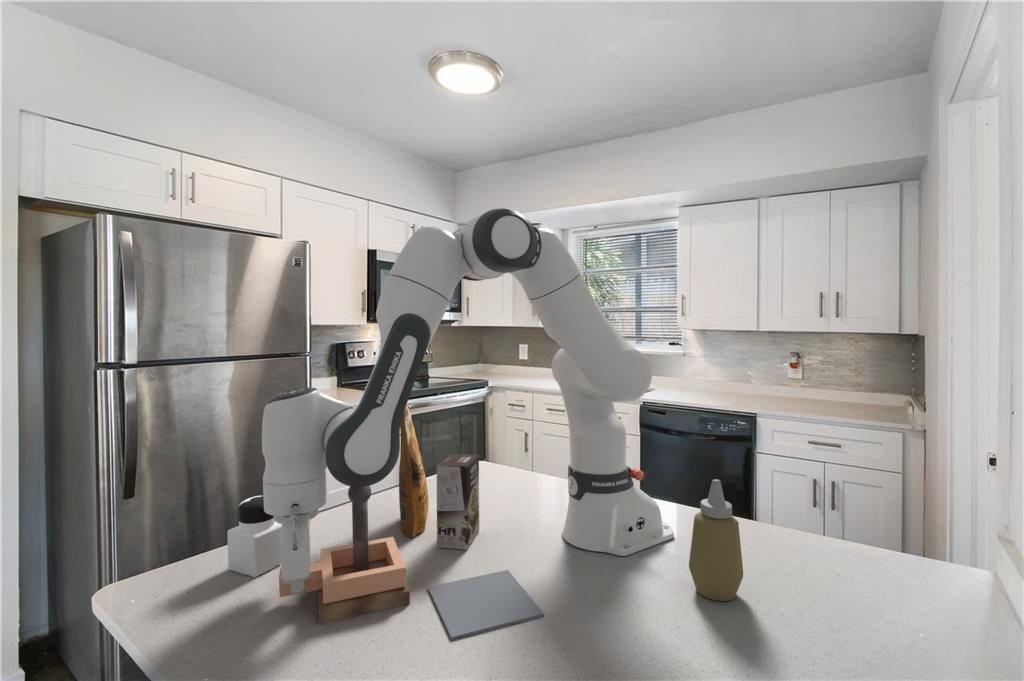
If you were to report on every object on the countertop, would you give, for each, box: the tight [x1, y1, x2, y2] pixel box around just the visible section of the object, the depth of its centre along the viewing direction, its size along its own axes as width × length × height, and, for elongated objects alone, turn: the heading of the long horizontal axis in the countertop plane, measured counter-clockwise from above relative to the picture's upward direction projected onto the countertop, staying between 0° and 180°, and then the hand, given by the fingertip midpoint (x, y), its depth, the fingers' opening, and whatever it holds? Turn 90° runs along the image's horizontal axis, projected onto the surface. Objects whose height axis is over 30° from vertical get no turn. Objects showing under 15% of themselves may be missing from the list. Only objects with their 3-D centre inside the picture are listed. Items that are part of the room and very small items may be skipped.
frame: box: [278, 536, 407, 604], centre depth 79 cm, size 18×12×3 cm, turn 113°
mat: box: [427, 569, 545, 641], centre depth 76 cm, size 14×14×1 cm
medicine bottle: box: [226, 495, 282, 578], centre depth 88 cm, size 7×7×12 cm
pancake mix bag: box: [398, 403, 430, 538], centre depth 107 cm, size 7×19×28 cm, turn 6°
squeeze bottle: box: [688, 479, 744, 602], centre depth 78 cm, size 8×8×18 cm
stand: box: [317, 485, 411, 625], centre depth 80 cm, size 13×14×18 cm
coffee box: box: [436, 453, 480, 551], centre depth 98 cm, size 9×6×16 cm
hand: (298, 583), depth 76 cm, fingers closed on frame, 3 cm apart
